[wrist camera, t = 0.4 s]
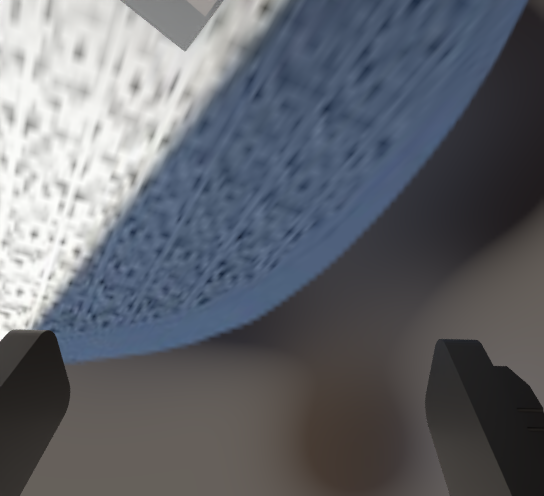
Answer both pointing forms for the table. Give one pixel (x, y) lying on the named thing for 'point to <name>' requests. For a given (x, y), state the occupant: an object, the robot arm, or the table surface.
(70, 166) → the table surface
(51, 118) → the table surface
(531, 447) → the robot arm
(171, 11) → the board
